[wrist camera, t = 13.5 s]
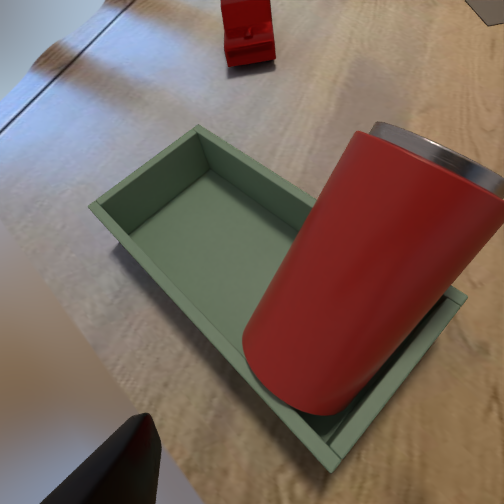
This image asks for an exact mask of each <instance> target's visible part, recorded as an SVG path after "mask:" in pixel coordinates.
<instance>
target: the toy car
mask: <svg viewBox="0 0 504 504" xmlns="http://www.w3.org/2000/svg"><path fill="white" fill-rule="evenodd" d="M221 12H222V18H223V25H224V51H225V56H226V61H227V65H228V67H232V66H238V65H244V64H250V63H256V62H262V61H268V60H274V59H276V53H275V41H274V33H273V25H272V15H271V4H270V0H221Z"/></svg>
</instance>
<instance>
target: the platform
mask: <svg viewBox="0 0 504 504" xmlns="http://www.w3.org/2000/svg"><path fill="white" fill-rule="evenodd" d="M466 2H467V3H468V4H469V5H470V6H471V7H472V8H473V9H474V10H475V12H476V13H477V14H478V15H479V16H480V17H481V18H482V19H483V20H484V22H485V23H486V24H487V25H488V26H489V25H494V24H499V23H504V0H466Z"/></svg>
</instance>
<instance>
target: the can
mask: <svg viewBox="0 0 504 504" xmlns="http://www.w3.org/2000/svg"><path fill="white" fill-rule="evenodd" d="M503 199H504V178H503V177H502V176H500V175H498V174H497V173H495V172H493V171H492V170H490V169H488V168H486V167H484V166H483V165H481V164H479V163H477V162H475V161H473V160H471V159H469V158H467V157H465V156H463V155H461V154H459V153H457V152H455V151H453V150H451V149H449V148H447V147H444V146H442V145H440V144H438V143H436V142H434V141H431V140H429V139H427V138H424V137H422V136H420V135H417V134H415V133H413V132H410V131H408V130H405V129H403V128H400V127H397V126H394V125H391V124H388V123H385V122H378V121H377V122H375V124H374V125H373V127H372V129H371V130H370V132H369V134H367V133H364V132H361V131H356V132H355V133H354V135H353V137H352V138H351V140H350V142H349V144H348V145H347V147H346V149H345V151H344V153H343V154H342V156H341V158H340V160H339V161H338V163H337V165H336V167H335V169H334V170H333V172H332V174H331V176H330V177H329V179H328V181H327V183H326V185H325V186H324V188H323V190H322V192H321V193H320V195H319V197H318V199H317V201H316V202H315V204H314V206H313V208H312V209H311V211H310V213H309V215H308V217H307V218H306V220H305V222H304V224H303V225H302V227H301V229H300V231H299V232H298V234H297V236H296V238H295V240H294V241H293V243H292V245H291V247H290V248H289V250H288V252H287V254H286V256H285V257H284V259H283V261H282V263H281V264H280V266H279V268H278V270H277V272H276V273H275V275H274V277H273V279H272V280H271V282H270V284H269V286H268V288H267V289H266V291H265V293H264V295H263V296H262V298H261V300H260V302H259V304H258V305H257V307H256V309H255V311H254V312H253V314H252V316H251V318H250V320H249V321H248V323H247V325H246V327H245V329H244V331H243V335H242V346H243V351H244V354H245V357H246V360H247V362H248V364H249V366H250V367H251V369H252V371H253V372H254V374H255V375H256V376H257V378H258V379H259V380H260V381H261V382H262V384H263V385H264V386H265V387H266V388H267V389H268V390H269V391H271V392H272V393H273V394H274V395H275V396H277V397H278V398H279V399H281V400H282V401H284V402H285V403H287V404H288V405H290V406H292V407H294V408H296V409H298V410H301V411H303V412H306V413H310V414H314V415H320V416H328V415H334V414H337V413H340V412H341V411H343V410H344V409H345V408H346V407H347V406H348V405H349V404H350V403H351V402H352V400H353V399H354V398H355V397H356V396H357V395H358V393H359V392H360V391H361V390H362V389H363V388H364V386H365V385H366V384H367V383H368V382H369V381H370V379H371V378H372V377H373V376H374V375H375V373H376V372H377V371H378V370H379V369H380V368H381V366H382V365H383V364H384V363H385V362H386V361H387V359H388V358H389V357H390V356H391V355H392V354H393V352H394V351H395V350H396V349H397V348H398V346H399V345H400V344H401V343H402V342H403V341H404V339H405V338H406V337H407V336H408V335H409V334H410V332H411V331H412V330H413V329H414V328H415V327H416V325H417V324H418V323H419V322H420V321H421V320H422V318H423V317H424V316H425V315H426V314H427V312H428V311H429V310H430V309H431V308H432V307H433V305H434V304H435V303H436V302H437V301H438V300H439V298H440V297H441V296H442V295H443V294H444V293H445V291H446V290H447V289H448V288H449V287H450V286H451V284H452V283H453V282H454V281H455V280H456V278H457V277H458V276H459V275H460V274H461V273H462V271H463V270H464V269H465V268H466V267H467V266H468V264H469V263H470V262H471V261H472V260H473V259H474V257H475V256H476V255H477V254H478V253H479V251H480V250H481V249H482V248H483V247H484V246H485V244H486V243H487V242H488V241H489V240H490V239H491V237H492V236H493V235H494V234H495V233H496V232H497V230H498V229H499V228H500V227H501V226H502V225H503V223H504V200H503Z"/></svg>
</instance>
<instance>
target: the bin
mask: <svg viewBox="0 0 504 504" xmlns="http://www.w3.org/2000/svg"><path fill="white" fill-rule="evenodd" d="M316 201H317V200H316V199H315V198H313V197H312V196H310V195H309V194H307V193H306V192H304V191H302V190H301V189H299V188H298V187H296V186H295V185H293V184H291V183H290V182H288V181H287V180H285V179H284V178H282V177H280V176H279V175H277V174H276V173H274V172H273V171H271V170H269V169H268V168H266V167H265V166H263V165H262V164H260V163H259V162H257V161H255V160H254V159H252V158H251V157H249V156H248V155H246V154H244V153H243V152H241V151H240V150H238V149H237V148H235V147H233V146H232V145H230V144H229V143H227V142H226V141H224V140H222V139H221V138H219V137H218V136H216V135H215V134H213V133H211V132H210V131H208V130H207V129H205V128H204V127H202V126H201V125H199V124H198V125H196V126H195V127H194V128H193V129H191V130H190V131H188V132H187V133H186V134H184V135H183V136H182V137H180V138H179V139H178V140H176V141H175V142H174V143H172V144H171V145H169V146H168V147H167V148H165V149H164V150H163V151H161V152H160V153H159V154H157V155H156V156H155V157H153V158H152V159H151V160H149V161H148V162H146V163H145V164H144V165H142V166H141V167H140V168H138V169H137V170H136V171H134V172H133V173H132V174H130V175H129V176H128V177H126V178H125V179H124V180H122V181H121V182H119V183H118V184H117V185H115V186H114V187H113V188H111V189H110V190H109V191H107V192H106V193H105V194H103V195H102V196H101V197H99V198H98V199H97V200H96V201H94V202H92V203H91V204H90V205H88V208H89V209H90V210H91V211H92V213H93V214H94V215H95V216H96V217H97V218H98V219H99V220H100V221H101V222H102V224H103V225H104V226H105V227H106V228H107V229H108V230H109V231H110V232H111V233H112V234H113V236H114V237H115V238H116V239H117V240H118V241H119V242H120V243H121V244H122V245H123V247H124V248H125V249H126V250H127V251H128V252H129V253H130V254H131V255H132V256H133V258H134V259H135V260H136V261H137V262H138V263H139V264H140V265H141V266H142V267H143V269H144V270H145V271H146V272H147V273H148V274H149V275H150V276H151V277H152V278H153V280H154V281H155V282H156V283H157V284H158V285H159V286H160V287H161V288H162V289H163V290H164V292H165V293H166V294H167V295H168V296H169V297H170V298H171V299H172V300H173V301H174V303H175V304H176V305H177V306H178V307H179V308H180V309H181V310H182V311H183V312H184V314H185V315H186V316H187V317H188V318H189V319H190V320H191V321H192V322H193V323H194V325H195V326H196V327H197V328H198V329H199V330H200V331H201V332H202V333H203V334H204V336H205V337H206V338H207V339H208V340H209V341H210V342H211V343H212V344H213V345H214V346H215V348H216V349H217V350H218V351H219V352H220V353H221V354H222V355H223V356H224V357H225V359H226V360H227V361H228V362H229V363H230V364H231V365H232V366H233V367H234V368H235V370H236V371H237V372H238V373H239V374H240V375H241V376H242V377H243V378H244V379H245V381H246V382H247V383H248V384H249V385H250V386H251V387H252V388H253V389H254V390H255V392H256V393H257V394H258V395H259V396H260V397H261V398H262V399H263V400H264V401H265V402H266V404H267V405H268V406H269V407H270V408H271V409H272V410H273V411H274V412H275V413H276V415H277V416H278V417H279V418H280V419H281V420H282V421H283V422H284V423H285V424H286V426H287V427H288V428H289V429H290V430H291V431H292V432H293V433H294V434H295V435H296V437H297V438H298V439H299V440H300V441H301V442H302V443H303V444H304V445H305V446H306V448H307V449H308V450H309V451H310V452H311V453H312V454H313V455H314V456H315V457H316V458H317V460H318V461H319V462H320V463H321V464H322V465H323V466H324V467H325V468H326V469H327V471H328V472H329V473H333V472H334V470H335V469H336V468H337V467H338V465H339V464H340V463H341V459H344V457H345V456H346V455H347V454H348V452H349V451H350V450H351V448H352V447H353V446H354V445H355V443H356V442H357V441H358V439H359V438H360V437H361V436H362V434H363V433H364V432H365V430H366V429H367V428H368V426H369V425H370V424H371V423H372V421H373V420H374V419H375V417H376V416H377V415H378V414H379V412H380V411H381V410H382V408H383V407H384V406H385V404H386V403H387V402H388V401H389V399H390V398H391V397H392V395H393V394H394V393H395V392H396V390H397V389H398V388H399V386H400V385H401V384H402V383H403V381H404V380H405V379H406V377H407V376H408V375H409V373H410V372H411V371H412V370H413V368H414V367H415V366H416V364H417V363H418V362H419V361H420V359H421V358H422V357H423V355H424V354H425V353H426V351H427V350H428V349H429V348H430V346H431V345H432V344H433V342H434V341H435V340H436V339H437V337H438V336H439V335H440V333H441V332H442V331H443V330H444V328H445V327H446V326H447V324H448V323H449V322H450V320H451V319H452V318H453V317H454V315H455V314H456V313H457V311H458V310H459V309H460V307H461V306H462V305H463V304H464V302H465V301H466V300H467V298H468V296H467V295H465V294H464V293H462V292H461V291H459V290H458V289H456V288H454V287H453V286H450V287H449V288H448V289H447V290H446V291H445V293H444V294H443V295H442V296H441V297H440V298H439V300H438V301H437V302H436V303H435V304H434V305H433V307H432V308H431V309H430V310H429V311H428V312H427V314H426V315H425V316H424V317H423V318H422V320H421V321H420V322H419V323H418V324H417V325H416V327H415V328H414V329H413V330H412V331H411V332H410V334H409V335H408V336H407V337H406V338H405V339H404V341H403V342H402V343H401V344H400V345H399V346H398V348H397V349H396V350H395V351H394V352H393V354H392V355H391V356H390V357H389V358H388V359H387V361H386V362H385V363H384V364H383V365H382V366H381V368H380V369H379V370H378V371H377V372H376V373H375V375H374V376H373V377H372V378H371V379H370V381H369V382H368V383H367V384H366V385H365V386H364V388H363V389H362V390H361V391H360V392H359V393H358V395H357V396H356V397H355V398H354V399H353V400H352V402H351V403H350V404H349V405H348V406H347V407H346V408H345V409H344V410H343V411H341V412H340V413H337V414H334V415H328V416H320V415H314V414H310V413H306V412H303V411H301V410H298V409H296V408H294V407H292V406H290V405H288V404H287V403H285V402H284V401H282V400H281V399H279V398H278V397H277V396H275V395H274V394H273V393H272V392H271V391H269V390H268V389H267V388H266V387H265V386H264V385H263V384H262V382H261V381H260V380H259V379H258V378H257V376H256V375H255V374H254V372H253V371H252V369H251V367H250V366H249V364H248V362H247V360H246V357H245V354H244V351H243V346H242V335H243V331H244V329H245V327H246V325H247V323H248V321H249V320H250V318H251V316H252V314H253V312H254V311H255V309H256V307H257V305H258V304H259V302H260V300H261V298H262V296H263V295H264V293H265V291H266V289H267V288H268V286H269V284H270V282H271V280H272V279H273V277H274V275H275V273H276V272H277V270H278V268H279V266H280V264H281V263H282V261H283V259H284V257H285V256H286V254H287V252H288V250H289V248H290V247H291V245H292V243H293V241H294V240H295V238H296V236H297V234H298V232H299V231H300V229H301V227H302V225H303V224H304V222H305V220H306V218H307V217H308V215H309V213H310V211H311V209H312V208H313V206H314V204H315V202H316Z"/></svg>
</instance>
